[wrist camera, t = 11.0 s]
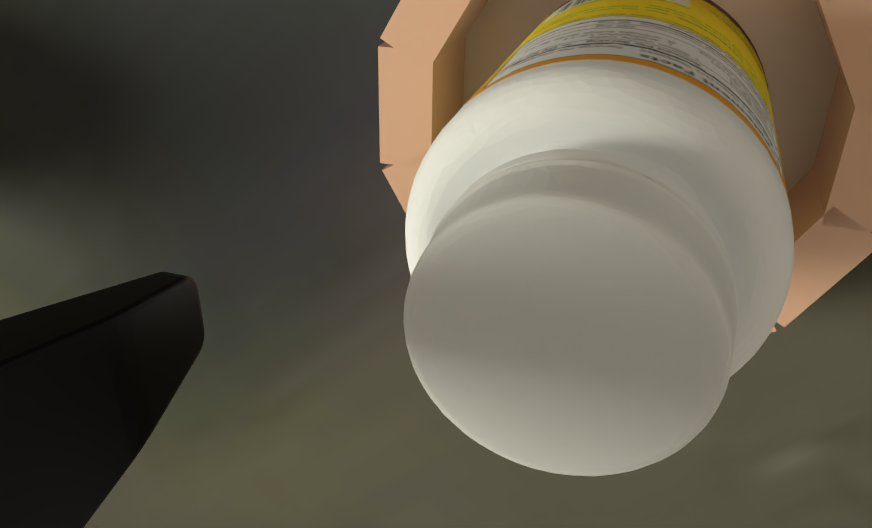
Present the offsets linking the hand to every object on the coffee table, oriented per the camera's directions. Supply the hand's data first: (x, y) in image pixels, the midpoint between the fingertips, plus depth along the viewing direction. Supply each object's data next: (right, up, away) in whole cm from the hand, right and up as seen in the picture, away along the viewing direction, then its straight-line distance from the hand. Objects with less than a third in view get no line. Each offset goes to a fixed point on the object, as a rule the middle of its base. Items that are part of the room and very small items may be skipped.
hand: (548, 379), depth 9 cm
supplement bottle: (+3, +5, +9) cm, 11 cm away
